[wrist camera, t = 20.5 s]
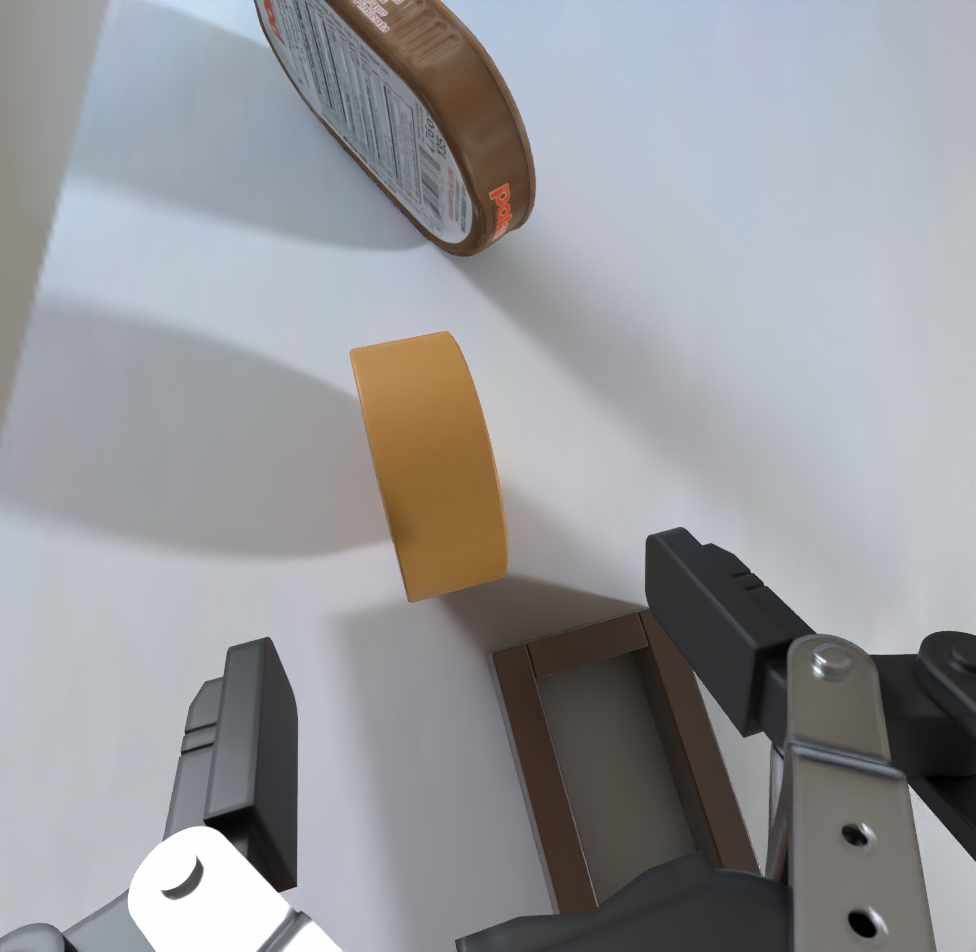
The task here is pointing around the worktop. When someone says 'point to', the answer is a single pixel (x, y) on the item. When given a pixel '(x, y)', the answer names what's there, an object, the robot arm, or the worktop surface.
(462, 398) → the tape roll
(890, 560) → the worktop surface
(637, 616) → the tape holder
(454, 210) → the tin
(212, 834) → the robot arm
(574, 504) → the worktop surface
